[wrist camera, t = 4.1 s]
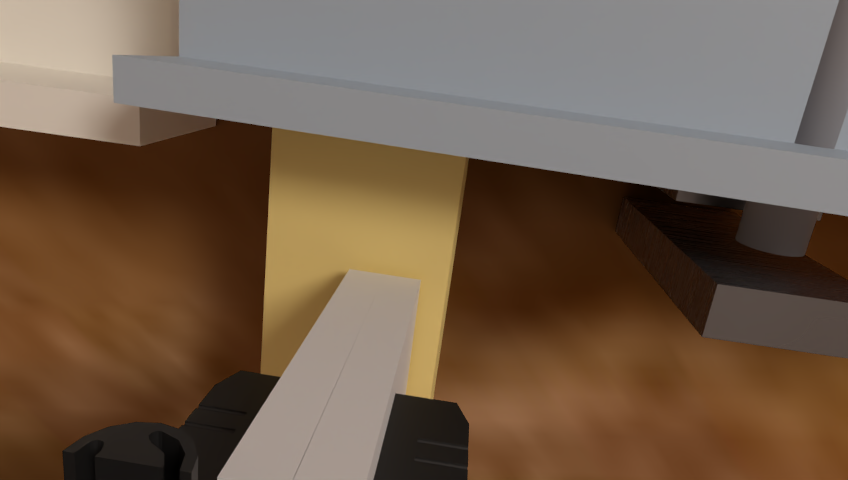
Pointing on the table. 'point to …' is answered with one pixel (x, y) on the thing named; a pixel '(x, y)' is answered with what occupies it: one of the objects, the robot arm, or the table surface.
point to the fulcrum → (735, 277)
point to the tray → (85, 68)
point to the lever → (501, 122)
